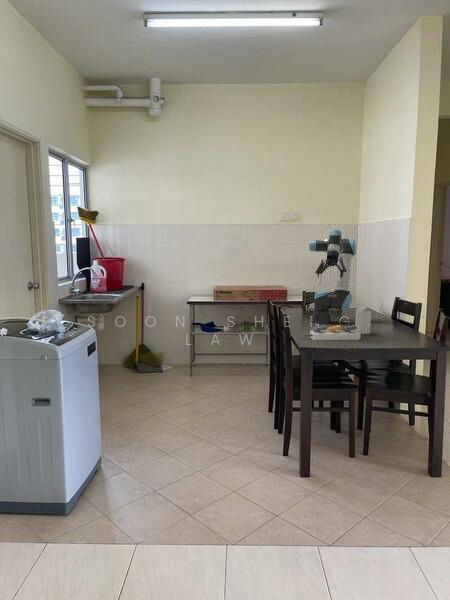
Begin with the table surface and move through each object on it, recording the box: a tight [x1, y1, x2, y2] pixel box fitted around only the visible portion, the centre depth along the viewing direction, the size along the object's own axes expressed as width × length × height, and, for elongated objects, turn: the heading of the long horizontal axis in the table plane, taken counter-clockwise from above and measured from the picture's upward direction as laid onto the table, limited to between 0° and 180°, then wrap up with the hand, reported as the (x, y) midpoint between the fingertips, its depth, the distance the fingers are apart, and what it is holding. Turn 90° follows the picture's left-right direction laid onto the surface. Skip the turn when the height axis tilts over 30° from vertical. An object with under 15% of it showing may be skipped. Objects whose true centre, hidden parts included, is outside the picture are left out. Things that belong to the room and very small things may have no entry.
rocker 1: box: [311, 324, 328, 332], centre depth 273 cm, size 5×8×2 cm, turn 94°
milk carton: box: [354, 303, 372, 335], centre depth 287 cm, size 7×7×19 cm
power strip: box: [303, 329, 361, 341], centre depth 272 cm, size 10×34×5 cm, turn 94°
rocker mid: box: [326, 324, 342, 332], centre depth 273 cm, size 5×8×2 cm, turn 94°
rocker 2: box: [341, 324, 357, 332], centre depth 274 cm, size 5×8×2 cm, turn 94°
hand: (329, 283), depth 274 cm, fingers open, 13 cm apart
